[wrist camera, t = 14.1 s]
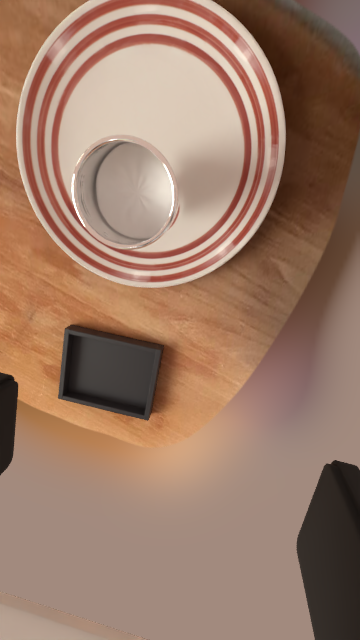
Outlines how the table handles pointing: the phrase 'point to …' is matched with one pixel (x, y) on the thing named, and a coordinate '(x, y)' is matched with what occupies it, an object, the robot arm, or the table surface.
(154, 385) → the tray
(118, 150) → the beer glass
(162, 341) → the table surface
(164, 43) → the dinner plate
